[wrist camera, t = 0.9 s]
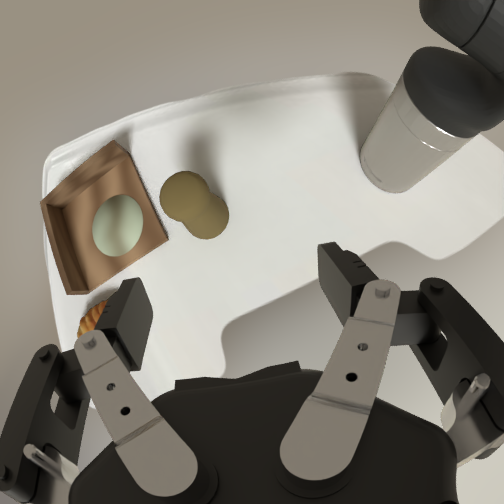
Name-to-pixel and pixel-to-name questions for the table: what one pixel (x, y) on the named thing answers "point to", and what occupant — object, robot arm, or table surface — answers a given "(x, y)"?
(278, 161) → the table surface
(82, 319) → the pastry
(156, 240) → the corner tray
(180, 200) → the cork
